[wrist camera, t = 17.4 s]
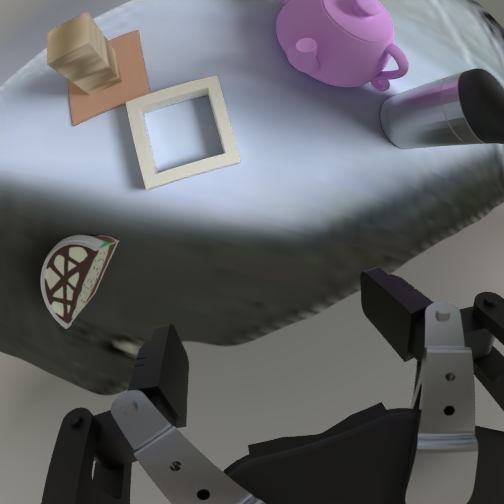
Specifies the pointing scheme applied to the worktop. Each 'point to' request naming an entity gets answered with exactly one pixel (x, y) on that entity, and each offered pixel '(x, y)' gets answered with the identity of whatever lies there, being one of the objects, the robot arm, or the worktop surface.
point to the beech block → (83, 54)
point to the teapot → (340, 41)
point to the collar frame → (170, 97)
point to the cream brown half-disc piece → (74, 274)
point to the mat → (117, 94)
